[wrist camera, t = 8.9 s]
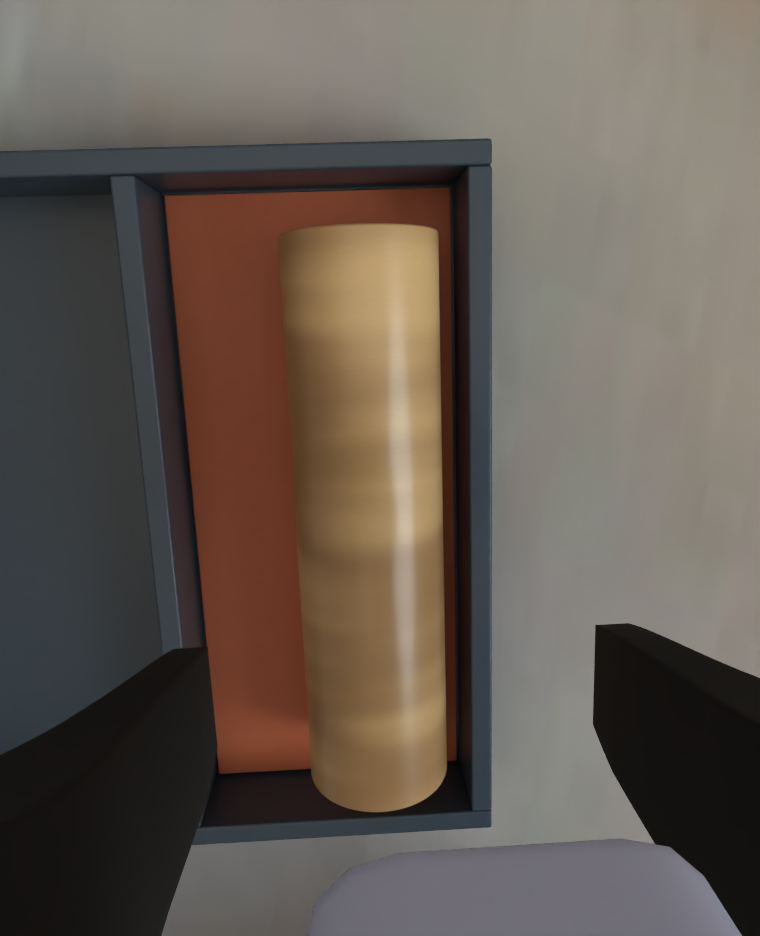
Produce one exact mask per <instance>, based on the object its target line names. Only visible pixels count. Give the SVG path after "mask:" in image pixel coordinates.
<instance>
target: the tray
mask: <svg viewBox="0 0 760 936" xmlns="http://www.w3.org/2000/svg"><path fill="white" fill-rule="evenodd" d="M491 162H492V142H491V139H454V140H416V141H378V142H340V143H301V144H263V145H225V146H187V147H148V148H110V149H72V150H33V151H0V755H1V754H3V753H5V752H7V751H10V750H12V749H14V748H16V747H17V746H19V745H21V744H23V743H25V742H27V741H29V740H31V739H33V738H35V737H37V736H39V735H41V734H43V733H44V732H46V731H48V730H50V729H52V728H53V727H55V726H57V725H59V724H60V723H62V722H64V721H65V720H67V719H68V718H70V717H72V716H73V715H75V714H76V713H78V712H79V711H81V710H83V709H84V708H86V707H87V706H89V705H90V704H92V703H94V702H95V701H97V700H98V699H100V698H102V697H103V696H105V695H106V694H108V693H109V692H110V691H112V690H113V689H115V688H116V687H118V686H119V685H121V684H122V683H123V682H125V681H126V680H128V679H129V678H131V677H132V676H133V675H135V674H136V673H138V672H139V671H141V670H142V669H143V668H145V667H146V666H148V665H149V664H150V663H152V662H153V661H155V660H156V659H158V658H159V657H161V656H162V655H164V654H166V653H167V652H169V651H171V650H173V649H179V648H197V647H208V656H209V666H210V676H211V686H212V696H213V706H214V716H215V726H216V736H217V746H218V748H217V753H216V759H215V764H214V769H213V775H212V779H211V784H210V789H209V794H208V798H207V801H206V804H205V807H204V810H203V813H202V816H201V819H200V822H199V825H198V828H197V831H196V834H195V837H194V839H193V842H192V845H201V844H218V843H234V842H251V841H268V840H284V839H301V838H318V837H334V836H351V835H368V834H384V833H401V832H417V831H434V830H451V829H467V828H484V827H491V558H492V168H491V166H490V164H491ZM354 223H399V224H414V225H422V226H428V227H431V228H434V229H436V230H437V231H438V241H439V303H440V365H441V427H442V489H443V551H444V613H445V675H446V737H447V771H446V775H445V777H444V779H443V781H442V783H441V785H440V786H439V787H438V789H437V790H436V791H435V792H434V793H433V794H431V795H430V796H429V797H428V798H426V799H424V800H423V801H421V802H419V803H417V804H415V805H412V806H410V807H407V808H403V809H399V810H395V811H388V812H363V811H357V810H352V809H349V808H345V807H343V806H340V805H338V804H336V803H334V802H332V801H330V800H329V799H328V798H326V797H325V796H324V795H323V794H322V793H321V792H320V791H319V790H318V788H317V787H316V785H315V783H314V781H313V779H312V775H311V761H310V746H309V730H308V714H307V698H306V682H305V666H304V650H303V634H302V619H301V603H300V587H299V571H298V555H297V539H296V523H295V507H294V492H293V476H292V460H291V444H290V428H289V412H288V396H287V380H286V365H285V349H284V333H283V317H282V301H281V285H280V269H279V253H278V236H279V235H280V234H282V233H284V232H287V231H290V230H294V229H300V228H306V227H314V226H323V225H336V224H354Z"/></svg>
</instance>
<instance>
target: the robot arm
mask: <svg viewBox="0 0 760 936" xmlns="http://www.w3.org/2000/svg"><path fill="white" fill-rule="evenodd" d="M593 725H594V728H595V730H596V733H597V736H598V738H599V741H600V743H601V746H602V748H603V751H604V753H605V755H606V758H607V760H608V762H609V764H610V767H611V769H612V771H613V773H614V775H615V777H616V778H617V780H618V782H619V784H620V785H621V787H622V789H623V791H624V792H625V794H626V796H627V797H628V799H629V801H630V803H631V804H632V806H633V808H634V809H635V811H636V813H637V814H638V816H639V818H640V819H641V821H642V823H643V824H644V826H645V828H646V829H647V831H648V833H649V834H650V836H651V838H652V839H653V841H654V843H655V844H656V845H655V844H650V843H644V842H638V841H632V840H626V839H606V840H591V841H576V842H561V843H545V844H530V845H515V846H500V847H485V848H469V849H454V850H439V851H424V852H408V853H399V854H395V855H392V856H389V857H385V858H382V859H379V860H375V861H372V862H369V863H365V864H362V865H359V866H355V867H352V868H349V869H348V870H347V871H346V872H345V873H344V874H343V875H342V876H341V877H340V878H339V879H338V880H337V881H336V882H335V883H334V884H333V885H332V886H331V887H330V888H329V889H328V890H327V891H326V892H325V893H324V894H323V895H322V896H321V897H320V898H319V899H318V900H317V901H316V902H315V903H314V908H313V912H312V916H311V920H310V924H309V928H308V933H307V936H760V678H758V677H755V676H753V675H750V674H748V673H745V672H743V671H740V670H738V669H735V668H733V667H731V666H728V665H726V664H723V663H721V662H719V661H717V660H714V659H712V658H710V657H707V656H705V655H703V654H701V653H699V652H696V651H694V650H692V649H690V648H687V647H685V646H683V645H681V644H679V643H676V642H674V641H672V640H670V639H668V638H665V637H663V636H661V635H659V634H656V633H654V632H651V631H649V630H647V629H644V628H641V627H639V626H636V625H632V624H628V623H627V624H609V625H596V632H595V670H594V709H593ZM217 748H218V746H217V736H216V726H215V716H214V706H213V696H212V686H211V676H210V666H209V656H208V647H197V648H179V649H173V650H171V651H169V652H167V653H166V654H164V655H162V656H161V657H159V658H158V659H156V660H155V661H153V662H152V663H150V664H149V665H148V666H146V667H145V668H143V669H142V670H141V671H139V672H138V673H136V674H135V675H133V676H132V677H131V678H129V679H128V680H126V681H125V682H123V683H122V684H121V685H119V686H118V687H116V688H115V689H113V690H112V691H110V692H109V693H108V694H106V695H105V696H103V697H102V698H100V699H98V700H97V701H95V702H94V703H92V704H90V705H89V706H87V707H86V708H84V709H83V710H81V711H79V712H78V713H76V714H75V715H73V716H72V717H70V718H68V719H67V720H65V721H64V722H62V723H60V724H59V725H57V726H55V727H53V728H52V729H50V730H48V731H46V732H44V733H43V734H41V735H39V736H37V737H35V738H33V739H31V740H29V741H27V742H25V743H23V744H21V745H19V746H17V747H16V748H14V749H12V750H10V751H7V752H5V753H3V754H1V755H0V936H161V935H162V931H163V928H164V925H165V921H166V918H167V915H168V911H169V909H170V906H171V903H172V900H173V897H174V894H175V891H176V888H177V886H178V883H179V880H180V877H181V874H182V871H183V868H184V865H185V862H186V860H187V857H188V854H189V851H190V848H191V845H192V842H193V839H194V837H195V834H196V831H197V828H198V825H199V822H200V819H201V816H202V813H203V810H204V807H205V804H206V801H207V798H208V794H209V789H210V784H211V779H212V775H213V769H214V764H215V759H216V753H217Z"/></svg>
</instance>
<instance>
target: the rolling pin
mask: <svg viewBox="0 0 760 936" xmlns="http://www.w3.org/2000/svg"><path fill="white" fill-rule="evenodd" d="M278 253H279V269H280V285H281V301H282V317H283V333H284V349H285V365H286V380H287V396H288V412H289V428H290V444H291V460H292V476H293V492H294V507H295V523H296V539H297V555H298V571H299V587H300V603H301V619H302V634H303V650H304V666H305V682H306V698H307V714H308V730H309V746H310V761H311V775H312V779H313V781H314V783H315V785H316V787H317V788H318V790H319V791H320V792H321V793H322V794H323V795H324V796H325V797H326V798H328V799H329V800H330V801H332V802H334V803H336V804H338V805H340V806H343V807H345V808H349V809H352V810H357V811H363V812H388V811H395V810H399V809H403V808H407V807H410V806H412V805H415V804H417V803H419V802H421V801H423V800H424V799H426V798H428V797H429V796H430V795H431V794H433V793H434V792H435V791H436V790H437V789H438V787H439V786H440V785H441V783H442V781H443V779H444V777H445V775H446V771H447V737H446V675H445V613H444V551H443V489H442V427H441V365H440V303H439V241H438V231H437V230H436V229H434V228H431V227H428V226H422V225H414V224H399V223H354V224H336V225H323V226H314V227H306V228H300V229H294V230H290V231H287V232H284V233H282V234H280V235H279V236H278Z"/></svg>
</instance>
